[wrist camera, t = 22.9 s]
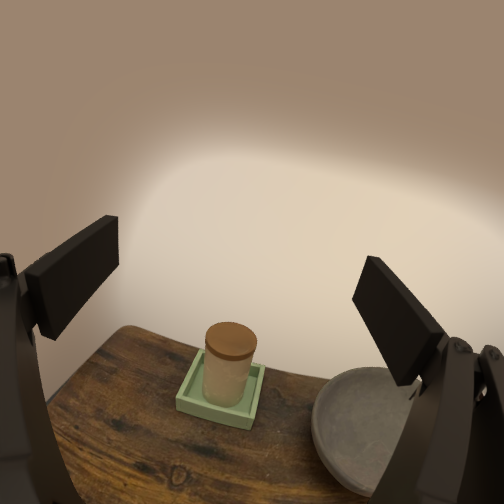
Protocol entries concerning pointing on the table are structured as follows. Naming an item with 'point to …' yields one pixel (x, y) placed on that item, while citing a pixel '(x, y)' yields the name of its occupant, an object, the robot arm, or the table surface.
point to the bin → (235, 416)
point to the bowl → (360, 425)
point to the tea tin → (227, 363)
